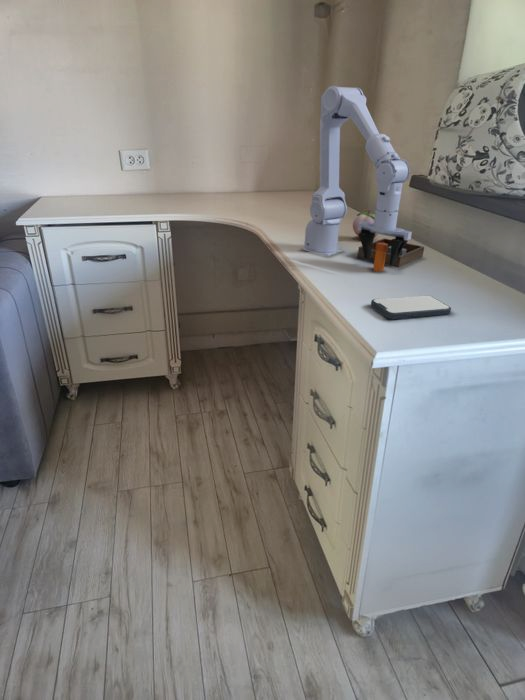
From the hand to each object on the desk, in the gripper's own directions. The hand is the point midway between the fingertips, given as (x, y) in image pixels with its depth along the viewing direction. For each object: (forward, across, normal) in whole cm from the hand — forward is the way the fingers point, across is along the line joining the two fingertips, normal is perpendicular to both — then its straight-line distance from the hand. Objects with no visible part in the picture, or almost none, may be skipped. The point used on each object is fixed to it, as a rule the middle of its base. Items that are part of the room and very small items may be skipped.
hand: (379, 261), depth 132 cm
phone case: (+3, -19, +20) cm, 28 cm away
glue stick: (+3, 0, 0) cm, 3 cm away
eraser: (+2, +4, -17) cm, 17 cm away
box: (+3, +4, -14) cm, 14 cm away
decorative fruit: (+3, +19, -26) cm, 32 cm away
